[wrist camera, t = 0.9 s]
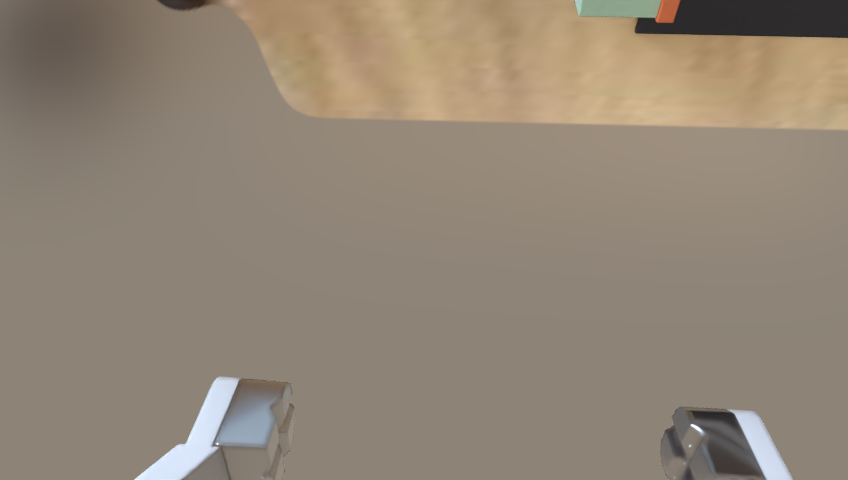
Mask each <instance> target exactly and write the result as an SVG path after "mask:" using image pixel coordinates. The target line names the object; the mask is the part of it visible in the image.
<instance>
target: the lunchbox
mask: <svg viewBox="0 0 848 480" xmlns="http://www.w3.org/2000/svg"><path fill="white" fill-rule="evenodd" d="M574 1H575V4H576V7H577V11H578V14H579V16H585V17H635V18H655V20H656V22H657V23H673V22H674V18H675V15H676V12H677V9H678V6H679V3H680V0H574Z"/></svg>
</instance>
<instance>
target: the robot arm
mask: <svg viewBox="0 0 848 480" xmlns="http://www.w3.org/2000/svg"><path fill="white" fill-rule="evenodd" d="M291 396H292V388H291V383H288V382H277V381H266V380H255V379H244V378H231V377H217V379H216V380H215V381H214V382H213V383H212V386H211V388H210V390H209V392H208V395H207V397H206V399H205V402H204V404H203V406H202V408H201V411H200V413H199V415H198V418H197V420H196V422H195V424H194V427H193V429H192V431H191V433H190V436H189V438H188V440H187V443H186V444H178V445H177V446H176V447H174V448H173V449H172V450H171V451H169V452H168V453H167V454H166V455H164V456H163V457H162V458H161V459H159V460H158V461H157V462H156V463H154V464H153V465H152V466H151V467H149V468H148V469H147V470H146V471H144V472H143V473H142V474H141V475H139V476H138V477H137V478H136V479H135V480H282V479H283V476H284V472H285V469H284V462H283V457H284V456H285V455H286V454H287V453H288V452H289V451H290V449H291V445H292V441H293V436H294V429H295V408H294V406H293V405H292V404H291V403H290V399H291ZM672 419H673V422H674V426H672V427H670V428H669V429H667V430H665V432H664V435H663V437H662V439H661V449H660V455H661V461H662V466H663V469H664V472H665V475H666V476H667V477H668V478H669V479H670V480H793V478H792V476H791V474H790V473H789V471H788V469H787V467H786V465H785V463H784V462H783V459H782V458H781V456H780V454H779V452H778V450H777V448H776V446H775V444H774V443H773V441H772V439H771V437H770V435H769V433H768V431H767V429H766V428H765V426H764V424H763V422H762V420H761V418H760V417H759V415H758V414H757V413H755V412H754V411H741V410H727V409H718V408H698V407H679V408H678V409H676V410H675V412H674V414H673V416H672Z"/></svg>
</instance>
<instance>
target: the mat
mask: <svg viewBox="0 0 848 480" xmlns="http://www.w3.org/2000/svg"><path fill="white" fill-rule="evenodd" d="M635 33H644V34H692V35H740V36H788V37H836V38H848V0H680V3H679V6H678V9H677V12H676V15H675V18H674V22H673V23H657V22H656V20H655V18H639V19H638V23H637V26H636V30H635Z"/></svg>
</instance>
